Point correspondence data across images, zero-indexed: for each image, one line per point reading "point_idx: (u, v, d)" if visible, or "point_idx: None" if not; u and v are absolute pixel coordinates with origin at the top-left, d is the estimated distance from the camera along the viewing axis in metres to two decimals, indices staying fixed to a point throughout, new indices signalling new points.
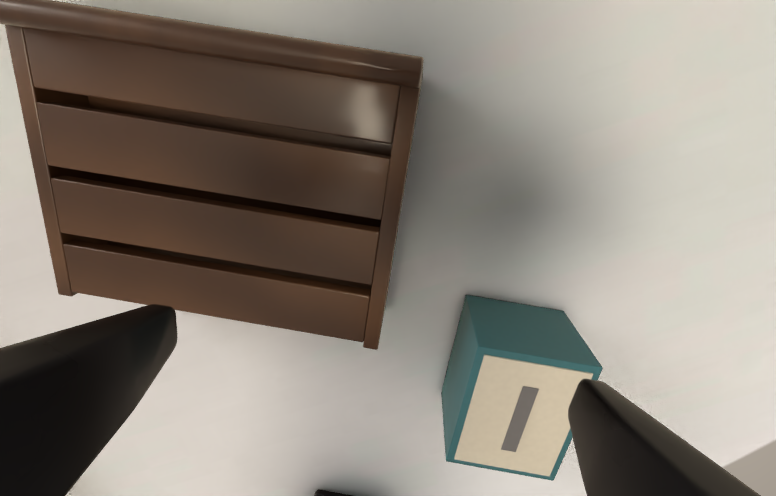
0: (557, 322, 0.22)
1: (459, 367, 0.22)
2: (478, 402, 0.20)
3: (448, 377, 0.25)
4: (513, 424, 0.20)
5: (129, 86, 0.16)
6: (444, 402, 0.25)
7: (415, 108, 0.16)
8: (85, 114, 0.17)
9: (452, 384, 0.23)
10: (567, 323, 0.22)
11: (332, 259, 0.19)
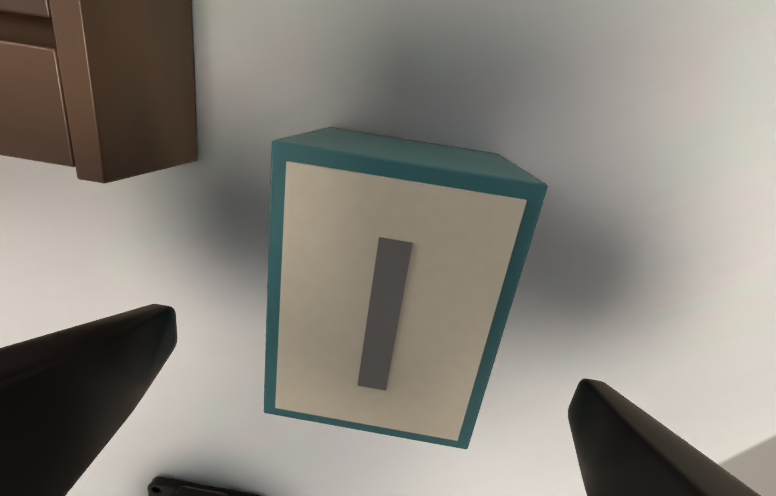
0: (479, 155, 0.12)
1: None
2: (298, 282, 0.10)
3: None
4: (372, 329, 0.10)
5: None
6: None
7: None
8: None
9: None
10: (499, 158, 0.12)
11: None
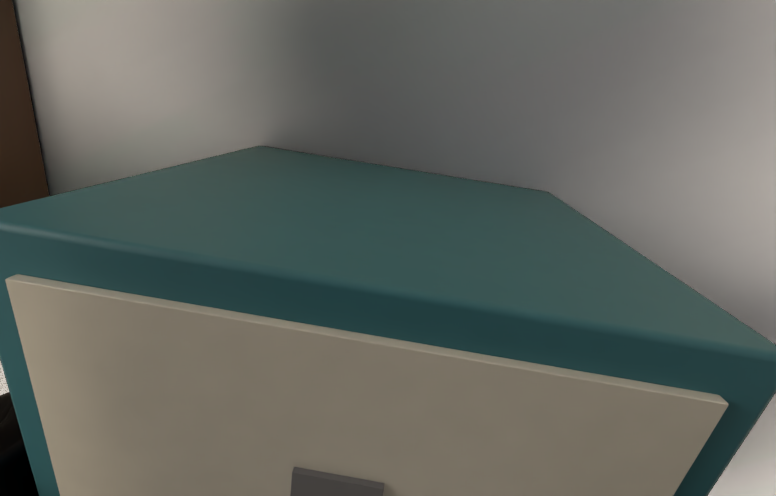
0: (524, 203, 0.06)
1: None
2: None
3: None
4: None
5: None
6: None
7: None
8: None
9: None
10: (560, 207, 0.06)
11: None
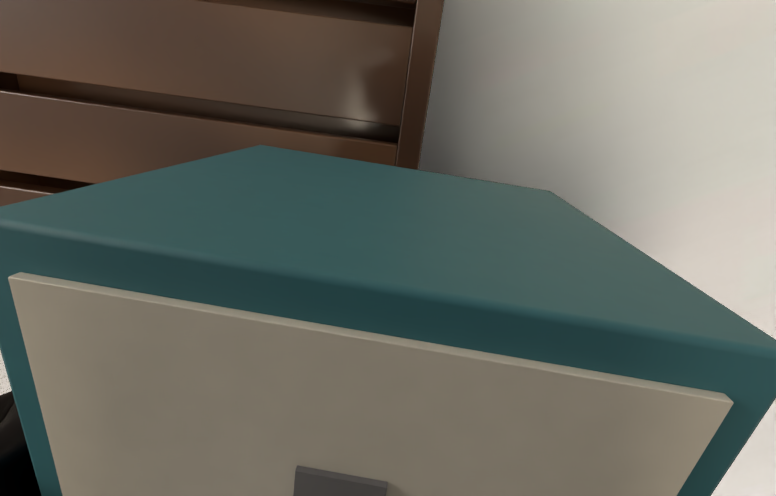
0: (526, 202, 0.06)
1: None
2: None
3: None
4: None
5: None
6: None
7: None
8: None
9: None
10: (562, 207, 0.06)
11: None
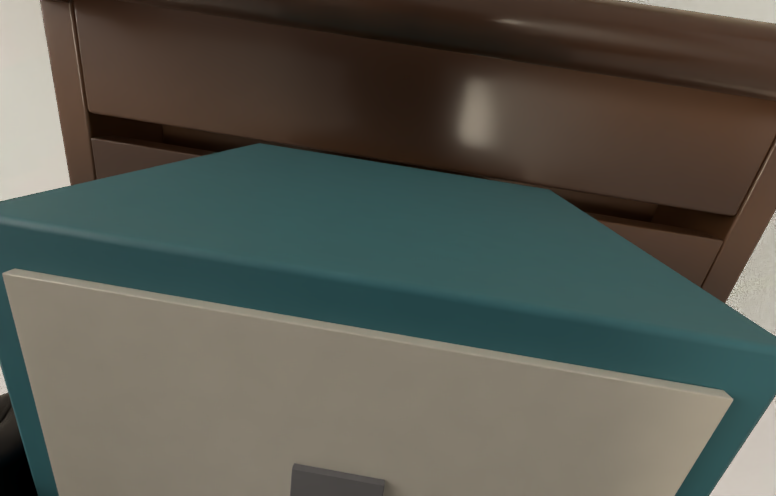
0: (525, 200, 0.06)
1: None
2: None
3: None
4: None
5: (262, 112, 0.09)
6: None
7: None
8: (177, 159, 0.10)
9: None
10: (561, 205, 0.06)
11: None
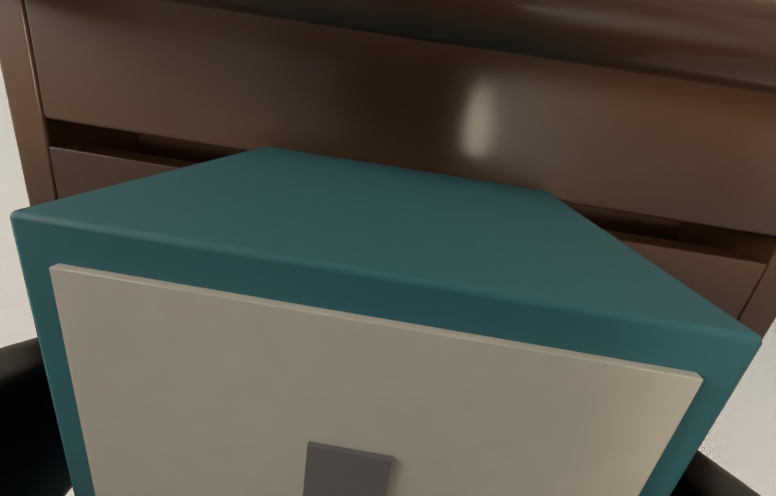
0: (522, 201, 0.06)
1: None
2: None
3: None
4: None
5: (241, 118, 0.08)
6: None
7: None
8: (146, 171, 0.09)
9: None
10: (556, 206, 0.07)
11: None
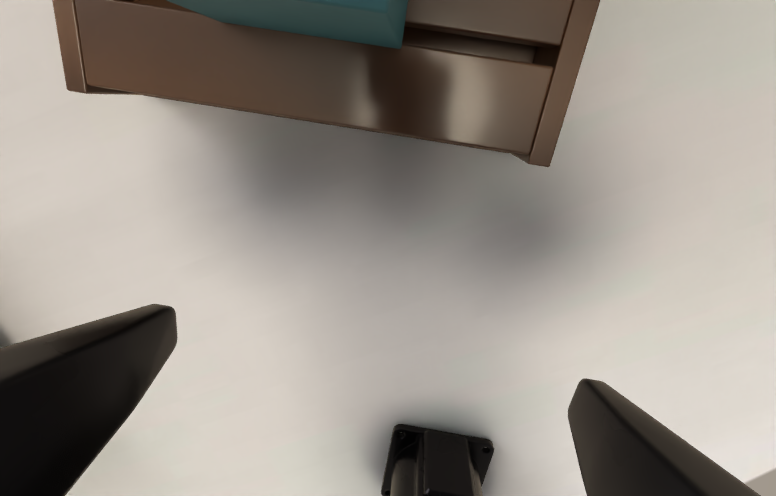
0: None
1: None
2: None
3: None
4: None
5: None
6: None
7: None
8: None
9: None
10: None
11: None
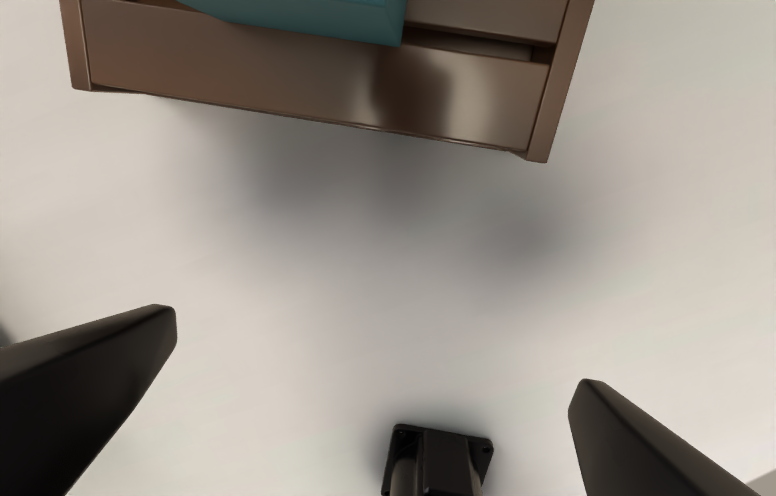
0: None
1: None
2: None
3: None
4: None
5: None
6: None
7: None
8: None
9: None
10: None
11: None
